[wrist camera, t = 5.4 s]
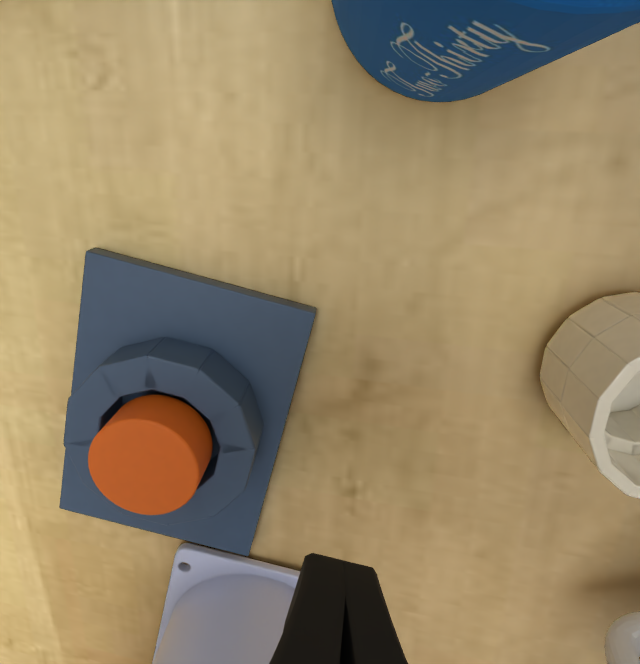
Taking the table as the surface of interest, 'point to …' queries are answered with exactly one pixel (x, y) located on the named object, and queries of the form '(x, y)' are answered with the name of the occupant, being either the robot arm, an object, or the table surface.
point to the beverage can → (470, 39)
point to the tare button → (151, 455)
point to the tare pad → (185, 386)
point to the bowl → (600, 385)
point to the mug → (623, 640)
